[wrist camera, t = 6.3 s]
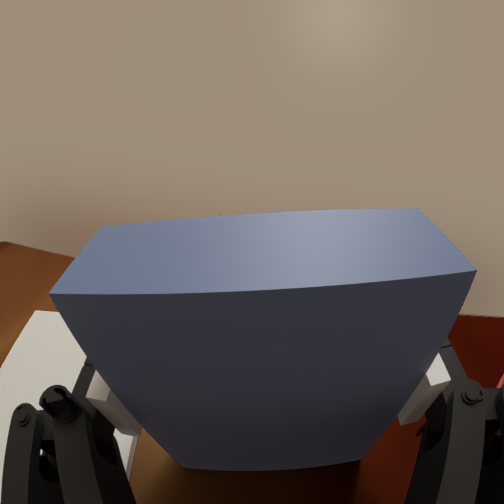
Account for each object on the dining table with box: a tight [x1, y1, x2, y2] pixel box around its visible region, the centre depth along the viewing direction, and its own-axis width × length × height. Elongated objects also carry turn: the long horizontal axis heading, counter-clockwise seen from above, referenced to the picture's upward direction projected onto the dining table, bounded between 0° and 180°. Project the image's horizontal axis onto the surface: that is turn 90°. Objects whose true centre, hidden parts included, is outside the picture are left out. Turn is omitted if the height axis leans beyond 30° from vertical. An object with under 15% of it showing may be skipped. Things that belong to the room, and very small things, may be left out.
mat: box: [0, 311, 138, 504], centre depth 12 cm, size 21×14×1 cm, turn 0°
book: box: [49, 208, 477, 471], centre depth 9 cm, size 3×9×12 cm, turn 90°
